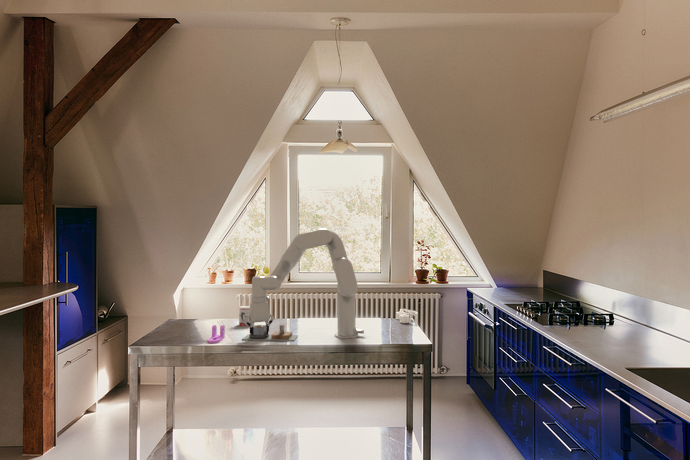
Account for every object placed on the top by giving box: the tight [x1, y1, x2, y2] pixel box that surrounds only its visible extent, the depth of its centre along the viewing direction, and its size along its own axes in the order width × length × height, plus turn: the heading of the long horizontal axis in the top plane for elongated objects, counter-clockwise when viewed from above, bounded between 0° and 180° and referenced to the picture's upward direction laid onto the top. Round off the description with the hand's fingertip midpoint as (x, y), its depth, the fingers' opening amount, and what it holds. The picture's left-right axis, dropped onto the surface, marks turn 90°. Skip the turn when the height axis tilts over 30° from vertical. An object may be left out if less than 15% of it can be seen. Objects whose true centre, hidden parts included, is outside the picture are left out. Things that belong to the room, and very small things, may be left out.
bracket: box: [207, 324, 226, 344], centre depth 238 cm, size 13×6×7 cm, turn 1°
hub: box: [248, 324, 270, 339], centre depth 244 cm, size 10×10×6 cm
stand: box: [270, 324, 293, 339], centre depth 243 cm, size 9×9×6 cm
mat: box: [241, 334, 299, 342], centre depth 243 cm, size 27×11×1 cm, turn 86°
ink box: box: [238, 305, 255, 327], centre depth 275 cm, size 9×5×12 cm, turn 105°
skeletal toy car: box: [395, 308, 419, 324], centre depth 287 cm, size 20×11×7 cm, turn 5°
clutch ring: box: [253, 324, 267, 336], centre depth 244 cm, size 7×7×4 cm
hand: (259, 333), depth 244 cm, fingers closed on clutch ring, 7 cm apart
